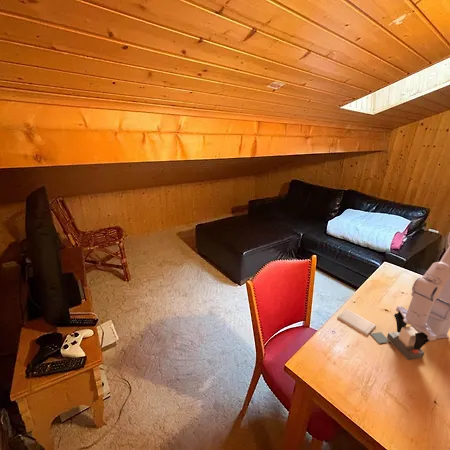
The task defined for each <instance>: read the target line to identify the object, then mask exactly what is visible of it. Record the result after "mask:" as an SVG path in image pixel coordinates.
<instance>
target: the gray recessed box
mask: <svg viewBox="0 0 450 450" xmlns="http://www.w3.org/2000/svg"><path fill="white" fill-rule="evenodd" d="M399 334H400V332H397V331H394V332H393V331H390V332H388V334H387V335H386V338H387V339H388V340H389V341H390V344H392V345H393V346H394V347H395V348H396V349H397V350H398V351H399V352H400V354H401V355H403V356H404V358H405V359H406V360H407V361H408V360H416V359H417V360H418V359H423V358H424V356H425V351H424V350H422V349H421V348H420V349H415V348H414V347H408V348H407V347H406V346H405V345H404V344H403V343H402V342H401V341H400V340H399V339H398V337H399Z"/></svg>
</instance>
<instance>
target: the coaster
mask: <svg viewBox="0 0 450 450" xmlns="http://www.w3.org/2000/svg"><path fill="white" fill-rule="evenodd" d="M369 334H370V335H371V337H372V338H373V340H375V341H376V343H378V345H379V344H389V343H390V344H391V341H390V340H389V339H388V338H387V336H386V335H385V334H384V333H382V332H381V331H380V332H370V333H369Z"/></svg>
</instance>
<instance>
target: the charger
mask: <svg viewBox="0 0 450 450" xmlns="http://www.w3.org/2000/svg"><path fill="white" fill-rule="evenodd" d="M415 333H419V331H418V330H416V329H415V328H414V327H413V326H412V325H411V326H406V327H402V329H401V332H400V334H399V337H398V339H399V340H400V341H401V342H402V343H403V344H404V345H405V346H406V347H407V348H408V347H414V344H415V340H416V336H415Z"/></svg>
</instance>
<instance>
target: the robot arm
mask: <svg viewBox="0 0 450 450" xmlns="http://www.w3.org/2000/svg"><path fill="white" fill-rule="evenodd" d="M447 246H448V247H447V249H446V250H445V252H444V254H443V256H441V259H440V260H439V261H435V262H433V263H432V264H431V265H430V267H428V269H427V270H426V271H425V273H424V274H423V275H422V277H417V279H416V280H415V281H414V283H413V284H412V288H411V300H410V302H409V305H408V309H406V308H405V307H403V306H402V305H401V306H396V309H395V311H396V312H397V313H394V315H393V317H394V319H395V321H396V332H401V329H402V327H407V325H411V326H412V327H413V328H414V329H415V330H416V331H417V332H418V333H415V336H416V340H415V344H414V348H415V349H421V348H422V347H423V346H425V345H426V344H427V343H428V342H431V341H436V340H437V339H446V338H449V337H450V336H449V335H448V333H449V330H450V232H448V234H447Z"/></svg>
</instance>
